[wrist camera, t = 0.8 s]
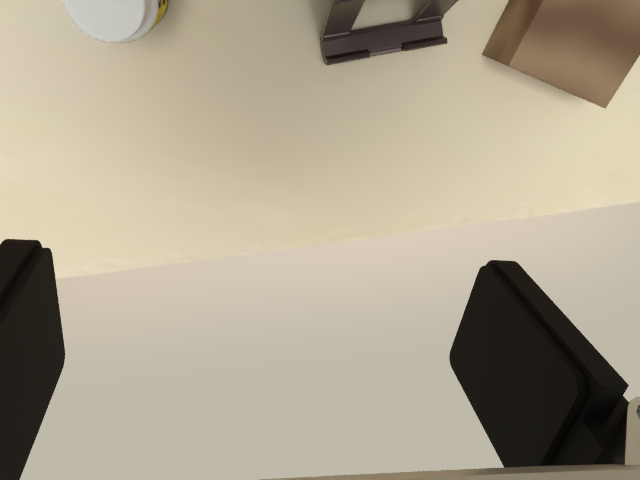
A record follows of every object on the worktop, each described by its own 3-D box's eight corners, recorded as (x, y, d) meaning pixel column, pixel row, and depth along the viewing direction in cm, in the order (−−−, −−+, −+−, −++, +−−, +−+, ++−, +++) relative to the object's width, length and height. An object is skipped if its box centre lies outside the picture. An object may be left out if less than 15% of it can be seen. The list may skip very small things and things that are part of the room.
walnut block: (545, -76, 35) (585, -78, 31) (639, -23, 37) (686, -19, 34) (480, 53, 38) (508, 65, 35) (570, 93, 41) (605, 108, 37)
